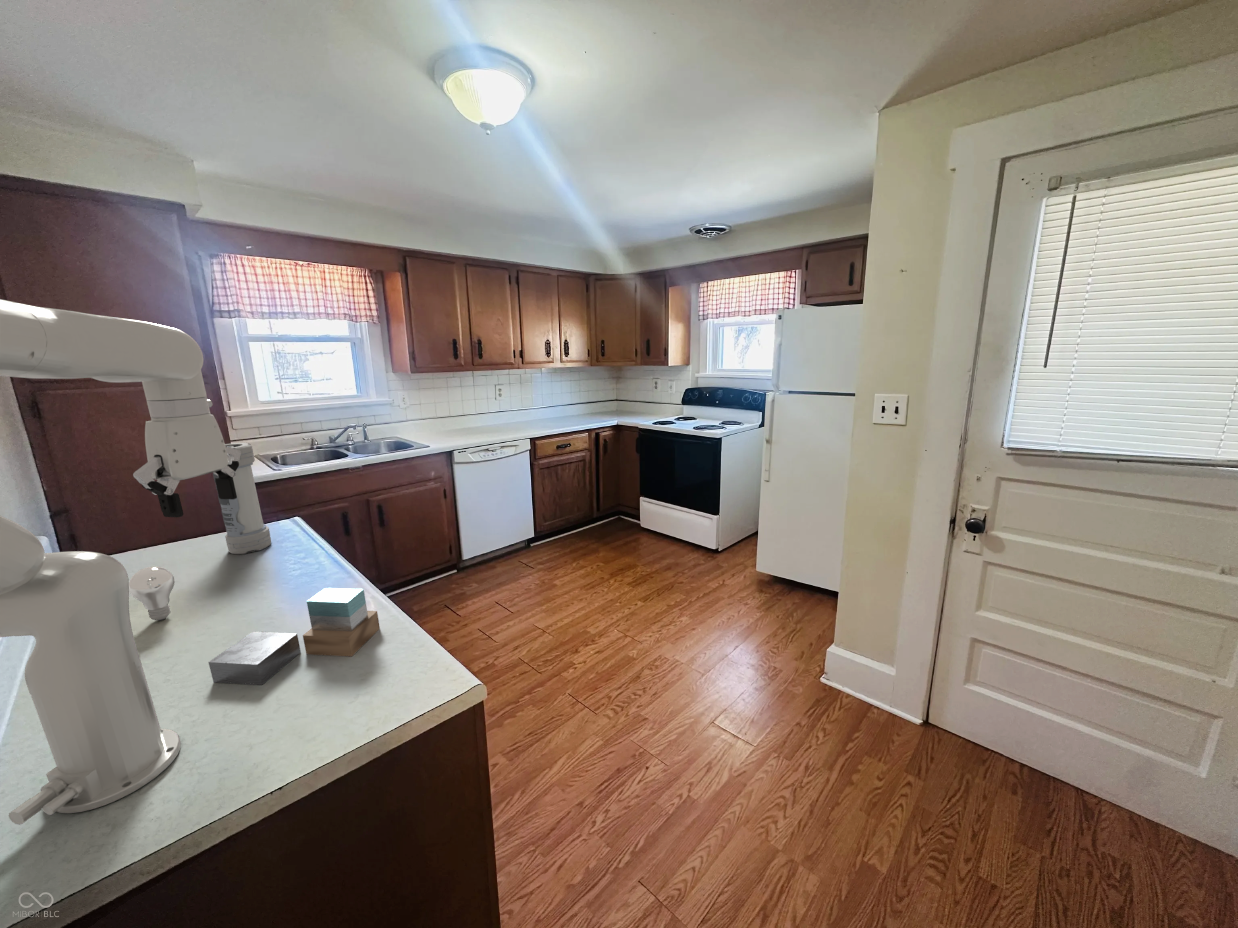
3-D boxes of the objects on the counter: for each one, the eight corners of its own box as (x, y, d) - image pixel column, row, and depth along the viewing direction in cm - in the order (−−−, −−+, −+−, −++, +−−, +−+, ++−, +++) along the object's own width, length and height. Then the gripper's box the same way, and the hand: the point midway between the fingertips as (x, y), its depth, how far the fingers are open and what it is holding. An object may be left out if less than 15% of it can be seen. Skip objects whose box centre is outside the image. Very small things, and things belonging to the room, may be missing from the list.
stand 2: (351, 656, 89) (348, 637, 88) (306, 654, 90) (302, 635, 89) (379, 628, 98) (377, 610, 97) (338, 626, 98) (335, 609, 97)
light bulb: (152, 631, 98) (137, 577, 95) (131, 625, 100) (115, 573, 97) (191, 613, 104) (178, 563, 102) (170, 608, 107) (157, 558, 104)
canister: (229, 558, 132) (205, 451, 125) (228, 547, 140) (205, 446, 133) (273, 547, 139) (252, 446, 132) (270, 537, 146) (250, 441, 139)
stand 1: (261, 684, 82) (257, 664, 81) (213, 682, 83) (208, 662, 82) (300, 652, 90) (297, 633, 89) (256, 650, 91) (252, 631, 90)
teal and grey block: (312, 629, 90) (306, 601, 89) (329, 615, 95) (325, 587, 94) (352, 631, 90) (347, 602, 88) (368, 616, 95) (363, 589, 93)
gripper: (210, 404, 89) (229, 492, 93) (100, 416, 73) (129, 523, 76) (246, 403, 88) (263, 493, 92) (142, 416, 71) (169, 525, 75)
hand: (202, 507), depth 84 cm, fingers open, 9 cm apart
